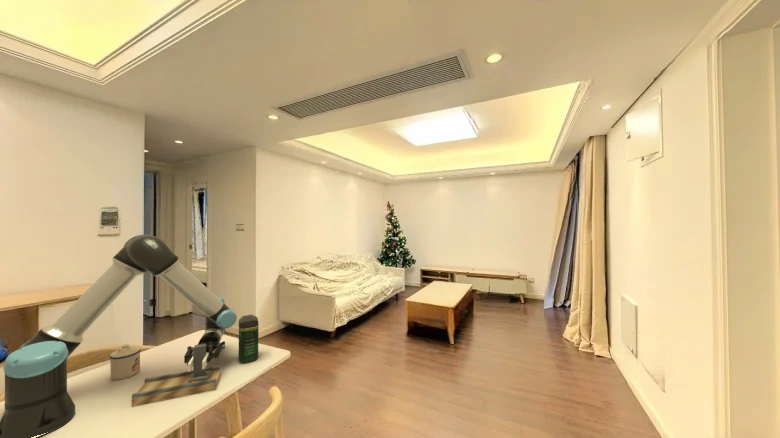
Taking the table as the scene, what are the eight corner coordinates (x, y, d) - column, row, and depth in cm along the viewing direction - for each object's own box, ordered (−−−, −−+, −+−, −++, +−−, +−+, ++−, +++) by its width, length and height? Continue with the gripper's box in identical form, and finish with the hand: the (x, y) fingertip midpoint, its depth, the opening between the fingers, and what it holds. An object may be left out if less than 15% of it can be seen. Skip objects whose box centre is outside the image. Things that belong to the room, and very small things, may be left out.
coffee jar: (259, 360, 123) (259, 318, 123) (239, 365, 119) (239, 321, 119) (256, 351, 131) (256, 312, 131) (237, 356, 127) (237, 315, 127)
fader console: (131, 406, 93) (131, 394, 93) (145, 388, 103) (145, 377, 103) (215, 389, 102) (215, 378, 102) (221, 374, 112) (221, 364, 112)
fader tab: (188, 383, 101) (188, 350, 101) (192, 376, 106) (192, 344, 106) (207, 379, 103) (207, 347, 103) (210, 372, 108) (210, 341, 108)
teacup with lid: (138, 375, 111) (138, 346, 111) (106, 383, 106) (106, 352, 106) (143, 363, 121) (143, 336, 121) (114, 369, 116) (114, 341, 116)
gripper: (232, 345, 125) (223, 372, 103) (187, 352, 118) (167, 382, 97) (232, 328, 125) (223, 351, 103) (187, 334, 118) (167, 360, 97)
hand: (196, 366), depth 100 cm, fingers closed on fader tab, 4 cm apart
